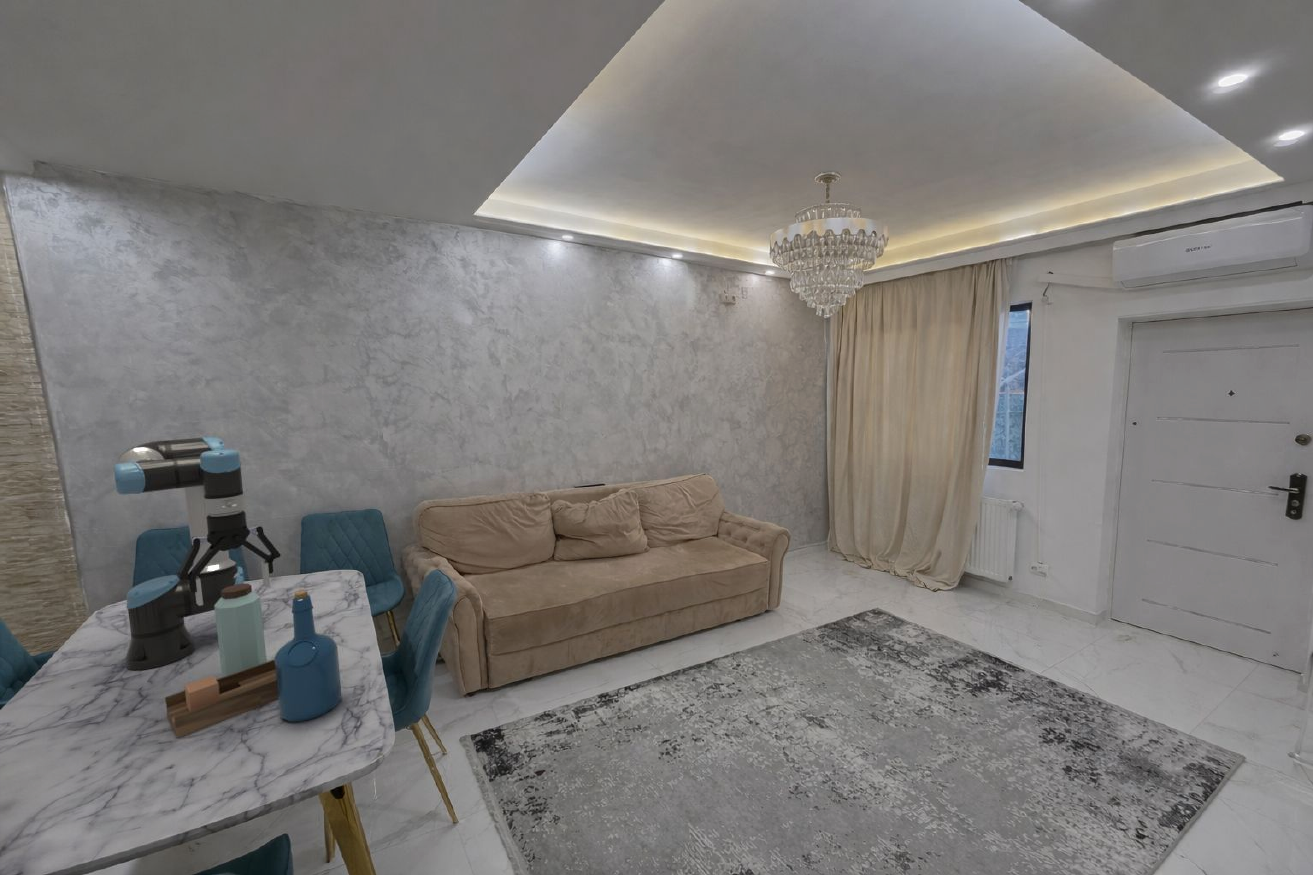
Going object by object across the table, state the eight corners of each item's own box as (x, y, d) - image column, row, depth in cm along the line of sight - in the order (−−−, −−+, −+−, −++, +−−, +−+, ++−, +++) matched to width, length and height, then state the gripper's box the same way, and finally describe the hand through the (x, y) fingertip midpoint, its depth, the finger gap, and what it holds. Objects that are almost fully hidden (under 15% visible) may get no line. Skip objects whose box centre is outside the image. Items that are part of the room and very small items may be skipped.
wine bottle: (286, 699, 136) (275, 587, 133) (345, 686, 141) (336, 578, 138) (272, 731, 123) (259, 607, 120) (337, 716, 128) (327, 597, 125)
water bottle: (242, 685, 143) (233, 596, 140) (212, 681, 145) (202, 593, 142) (276, 665, 152) (267, 582, 150) (247, 662, 154) (238, 580, 152)
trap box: (167, 716, 130) (164, 693, 129) (307, 664, 152) (305, 645, 152) (177, 738, 121) (174, 713, 121) (323, 680, 144) (321, 659, 144)
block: (186, 706, 129) (184, 684, 129) (215, 695, 134) (213, 675, 133) (191, 714, 126) (188, 693, 125) (220, 703, 130) (218, 682, 130)
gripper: (161, 526, 119) (171, 616, 121) (289, 504, 138) (296, 582, 141) (154, 521, 123) (165, 607, 126) (280, 500, 143) (287, 576, 145)
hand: (234, 594), depth 133 cm, fingers open, 13 cm apart
